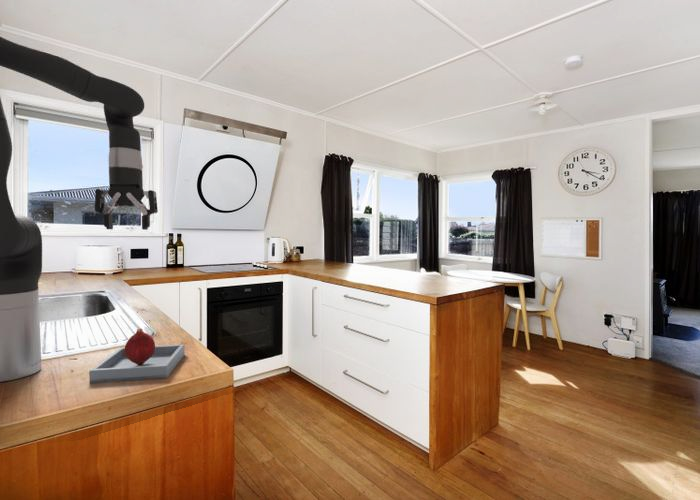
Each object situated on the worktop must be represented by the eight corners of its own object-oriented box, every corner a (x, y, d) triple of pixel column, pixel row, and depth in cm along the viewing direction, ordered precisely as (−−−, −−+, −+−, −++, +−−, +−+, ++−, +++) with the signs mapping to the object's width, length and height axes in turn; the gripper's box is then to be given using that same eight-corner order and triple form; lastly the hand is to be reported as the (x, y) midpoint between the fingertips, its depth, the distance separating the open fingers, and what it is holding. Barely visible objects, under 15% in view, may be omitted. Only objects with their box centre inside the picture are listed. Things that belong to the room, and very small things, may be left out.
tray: (89, 383, 71) (89, 370, 70) (120, 358, 84) (120, 347, 84) (166, 377, 73) (166, 365, 73) (184, 354, 87) (184, 344, 87)
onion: (160, 364, 79) (159, 328, 79) (130, 372, 75) (129, 334, 74) (149, 358, 83) (148, 323, 82) (121, 365, 78) (120, 328, 78)
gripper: (88, 164, 90) (90, 229, 91) (150, 166, 93) (151, 229, 94) (102, 169, 97) (104, 229, 98) (159, 171, 100) (161, 229, 101)
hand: (127, 229), depth 96 cm, fingers open, 8 cm apart
